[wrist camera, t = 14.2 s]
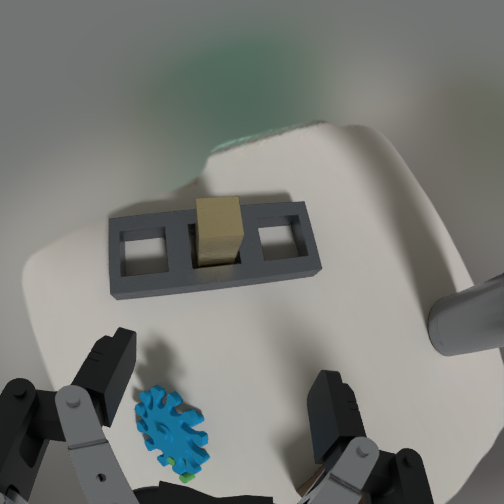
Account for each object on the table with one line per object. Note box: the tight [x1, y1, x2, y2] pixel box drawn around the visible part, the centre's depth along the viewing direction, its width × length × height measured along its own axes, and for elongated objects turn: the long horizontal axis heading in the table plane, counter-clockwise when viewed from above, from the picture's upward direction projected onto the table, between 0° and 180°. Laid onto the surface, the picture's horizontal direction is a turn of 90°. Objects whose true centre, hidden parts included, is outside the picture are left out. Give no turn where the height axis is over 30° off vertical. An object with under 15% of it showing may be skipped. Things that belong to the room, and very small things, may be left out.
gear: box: [134, 386, 210, 483], centre depth 27 cm, size 11×6×10 cm
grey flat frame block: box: [109, 201, 322, 300], centre depth 36 cm, size 24×9×3 cm, turn 100°
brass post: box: [195, 196, 244, 269], centre depth 33 cm, size 4×4×10 cm
